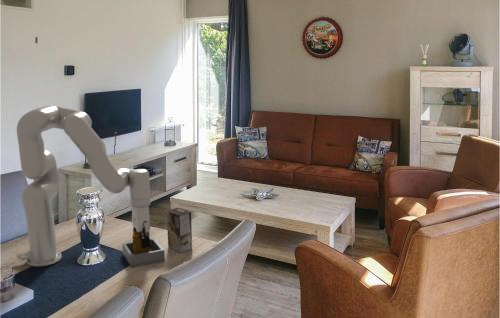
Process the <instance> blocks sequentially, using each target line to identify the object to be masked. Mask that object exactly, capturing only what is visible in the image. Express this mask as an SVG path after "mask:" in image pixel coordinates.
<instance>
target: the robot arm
mask: <svg viewBox="0 0 500 318" xmlns="http://www.w3.org/2000/svg"><path fill="white" fill-rule="evenodd" d="M92 125H93V122H92V119H91V117H90V115H89V114H88V113H86V112H84V111H82V110H75V109H71V108H66V107H61V106H56V105H45V106H42V107H37V108H34V109H33V110H30V111H28V112H26V113H25V114H23V115H22V116H21V117H20V118H19V120H18V122H17V125H16V137H17V143H18V151H19V159H20V168H21V172H22V175H23V176H24V177H25V178H27V179H29V180H33V181H32V182H31V183H29V184H27V185H26V186H25V188H24V189H23V190H22V194H21V202H22V205H23V209H24V213H25V220H26V227H27V237H28V245H29V246H28V247H29V248H28V251H26V252H23V253H22V252H21V253H17V254H16V257H17V259H18V260H20V259H21V261H25V260H26V264H27V265H28V266H30V267H37V268H38V267H46V266H50V265H53V264H56V263H57V262H59V261H60V260H61V259H62V257H63V256H62V253H61V252H60V251H58V249H57V240H56V239H57V238H56V231H55V229H56V228H55V219H54V212H53V208H52V205H51V201H52V200H53V198H55V197H56V196H57V195H58V193H59V189H60V188H59V187H60V183H59V181H60V180H59V175H58V165H57V160H56V158H55V156H54V155H53V153H52V152H50V151H49V150H47V149H45V142H44V139H43V136H42V133H43V132H46V131H48V130H51V129H59V130H63V131H64V133H65V134H66V135H67V137H68V138H69V139H70V140H71V141H72V142H73V144H74V145H75V146H76V147H77V148H78V149H79V151H80V153H82V154H83V156H84V157H85V158H86V161H87V164H88V166H89V168H90V169H91V171H92V174H93V175H94V177H95V178H96V179H97V181H99V182H100V184H101V185H102V186H103V187H104V189H106V190H107V191H108V192H110V193H112V194H120V193H122V192H123V191H124V190H125V189H126V188H127V187H129V200H130V207H131V225H132V228H134V227H135V229H136V231H137V232H141V235H142V238H141V244H142V248H147V247H150V238H151V237H150V236H151V235H150V230H151V217H150V207H149V206H151V188H150V187H151V186H150V185H151V183H150V182H151V181H150V172H149V171H148V169H145V168H137V169H132V168H124V167H120V168H119V167H118V168H115V167H114V166H113V164H112V163H111V161H110V159H109V157H108V154H107V146H106V144H105V142H104V141H103V140H102V138H101V137H100V136H99V135H98V134H97V133H96V131H95V130H94V129H93V128H92ZM142 229H145V230H142ZM143 232H145V233H144V234H143Z"/></svg>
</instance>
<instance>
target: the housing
mask: <svg viewBox="0 0 500 318" xmlns="http://www.w3.org/2000/svg"><path fill="white" fill-rule="evenodd" d="M149 251H151V252H146V253H141V254H136V255H133V241H129V242H124V243H122V255H123V257H124V258H125V260H126V261H127V263H128V264H129V266H130V268H132V269H133V268H138V267H141V266H146V265H151V264H156V263H160V262H165V261H166V258H165V257H166V256H165V255H166V254H165V249H164V248H163V247H162V245H160V243H159V242H158V241H157V239H156V238H154V237H153V238H152V237H150V247H149Z"/></svg>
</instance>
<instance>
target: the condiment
mask: <svg viewBox="0 0 500 318" xmlns="http://www.w3.org/2000/svg"><path fill="white" fill-rule="evenodd" d="M132 230H133V231H132V242H133V255H136V254H141V253H146V252H151V251H149V247H147V248H142V244H141V238H142V235H141V232H137V231H136V229H135V227H132ZM142 230H145V229H142ZM144 233H145V232H143V234H144Z"/></svg>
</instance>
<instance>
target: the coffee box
mask: <svg viewBox="0 0 500 318" xmlns="http://www.w3.org/2000/svg"><path fill="white" fill-rule="evenodd" d="M166 227H167V245H168V247H167V248H169V249H172V250H174V251H176V252H178V253H185V252H187V250H188V251H190V250H193V235H192V232H193V231H192V229H193V228H192V211H189V210H186V209H183V208H180V207H176V208H172V209H169V210H167V211H166Z"/></svg>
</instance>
